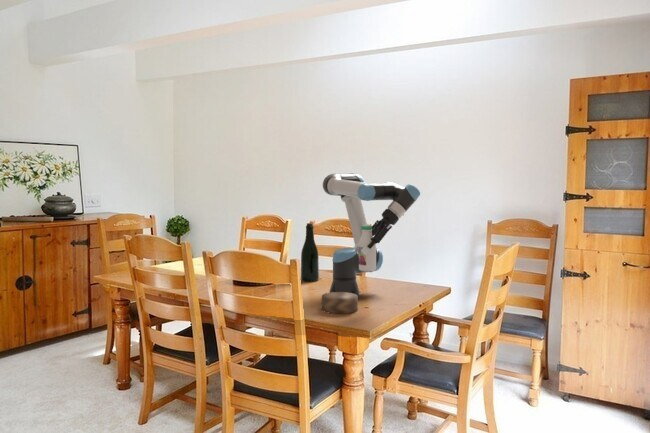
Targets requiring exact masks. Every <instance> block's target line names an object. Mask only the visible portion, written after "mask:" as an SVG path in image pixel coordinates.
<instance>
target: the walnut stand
mask: <svg viewBox="0 0 650 433" xmlns="http://www.w3.org/2000/svg"><path fill="white" fill-rule="evenodd" d="M358 298H359V297H358V296H357V295H356V294H353V293H348V292H331V293H329V292H326V293H323V294H322V295H321V311H322V310H323V311H322V312H324V311H325V312H324V313H327V312H329V313H328V314H332V313H335V315H346V313H348V314H353V313H357V311H358V309H359V308H358V303H359V302H358V301H359V300H358Z"/></svg>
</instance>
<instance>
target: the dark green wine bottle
mask: <svg viewBox="0 0 650 433" xmlns="http://www.w3.org/2000/svg"><path fill="white" fill-rule="evenodd" d="M319 264H320V262H319V250H318V247H317V244H316V240H315V238H314V225H313V223H310V222H308V223H306V225H305V239H304V243H303V245H302V249H301V253H300V280H301V281H302V282H307V281H312V282H317V281H319V279H320V266H319Z"/></svg>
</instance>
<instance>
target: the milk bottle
mask: <svg viewBox="0 0 650 433" xmlns="http://www.w3.org/2000/svg"><path fill="white" fill-rule="evenodd" d="M372 226H373V225H368V224H367V225H364V226H362V236H361V238H360V241H359V270H360V271H373V272H376V271H375V270H376V248H377V246H376V245H377V244H375V245H374V246H373V247H372V248H371V249H370V251H369V252H368V253H367V254H366V255H364V254H363V253H362V252H361V250H362V249H363V248H364V247H365V245H366V244H367V243H368V242H369V241H370V240H371V238H373V237H374V236H373V235H372ZM371 241H372V240H371Z"/></svg>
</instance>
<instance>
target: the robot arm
mask: <svg viewBox="0 0 650 433" xmlns="http://www.w3.org/2000/svg"><path fill="white" fill-rule="evenodd" d="M322 188H323V191H324V192H325V193H326V194H327V195H329V196H338V197H339V196H340V199H341V202H343V203H344V204H345V208H346V213H347V217H348V220H349V225H350V229H351V233H352V239H353V243H354V246H353V247H343V248H338V249H336V250H334V252H333V255H332V281H331V285H330V289H329V291H328V293H331V292H348V293H353V294H356V295H357V296H358V298H359V297H360V295H361V294H360V293H361V292H360V289H359V285H358V281H357V274H363V273H373V272H377V271H379V270H380V269H381V268H382V265H383V263H384V255H383V252H382V250H381V249H379V248H377V247H376V270H375V271H360V270H359V241H360V238H361V236H362V226H364V225H368V223H367V219H366V216H365V215H366V214H365V212H364V207H363V203H362V201H365V202H370V201H391V202H390V203H389V204H388V206H387V208H385V209H384V211H383V212H382V213H381V216H382V218H381V219H379V220H378V219H377V220H376V221H375V222H374V223H373V225H371V226H372V235H373V238H371V240H372V241H371V240H370V241H369V242H368V243H367V244H366V245H365V247H364V248H363V249H362V250H361V252H362V253H363V254H364V255H366V254H367V253H368V252H369V251H370V249H371V248H372V247H373V246H374V245H375V244H376V245H377V244H380V242H382V240H383V239H384V238H385V236H386V235H387V233H388V232H389V231H390V230H391V229H392V228H393V226H395V225H396V224H397V223H398V221H399V219H401V218H402V217H404V216H405V213H406V212H407V211H409V210H408V209H410V208H411V207H412V206H413V204H414V203H415V202H416V201H417V200H418V199H419V197H420V196H421V191H420V189H418V187H416V186H415V185H414V184H412V183H408V184H407V185H405V186H401V185H399V184H397V183H395V182H391V181H386V182H384V183H368V182H365V180H364V178H363V177H362V176H361V175H360V174H357V173H331V174H328V175H327V176H326V177H324V179H323V181H322Z"/></svg>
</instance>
